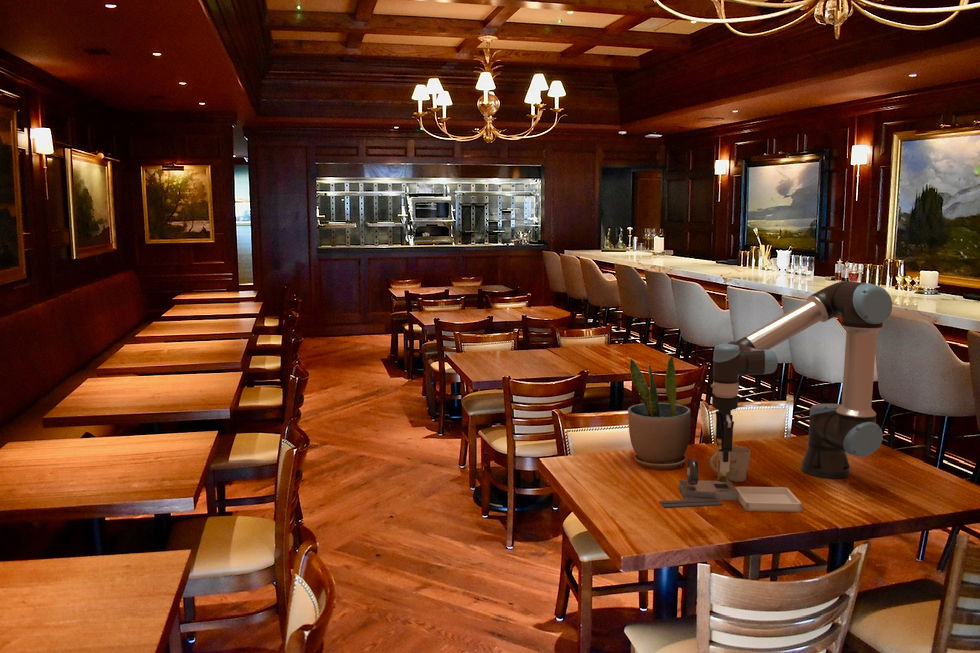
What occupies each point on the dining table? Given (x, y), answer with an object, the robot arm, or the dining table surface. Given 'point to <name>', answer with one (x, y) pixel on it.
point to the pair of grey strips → (690, 503)
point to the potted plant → (658, 423)
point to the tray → (768, 499)
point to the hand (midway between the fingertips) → (723, 469)
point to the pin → (721, 475)
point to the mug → (736, 463)
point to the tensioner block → (705, 486)
